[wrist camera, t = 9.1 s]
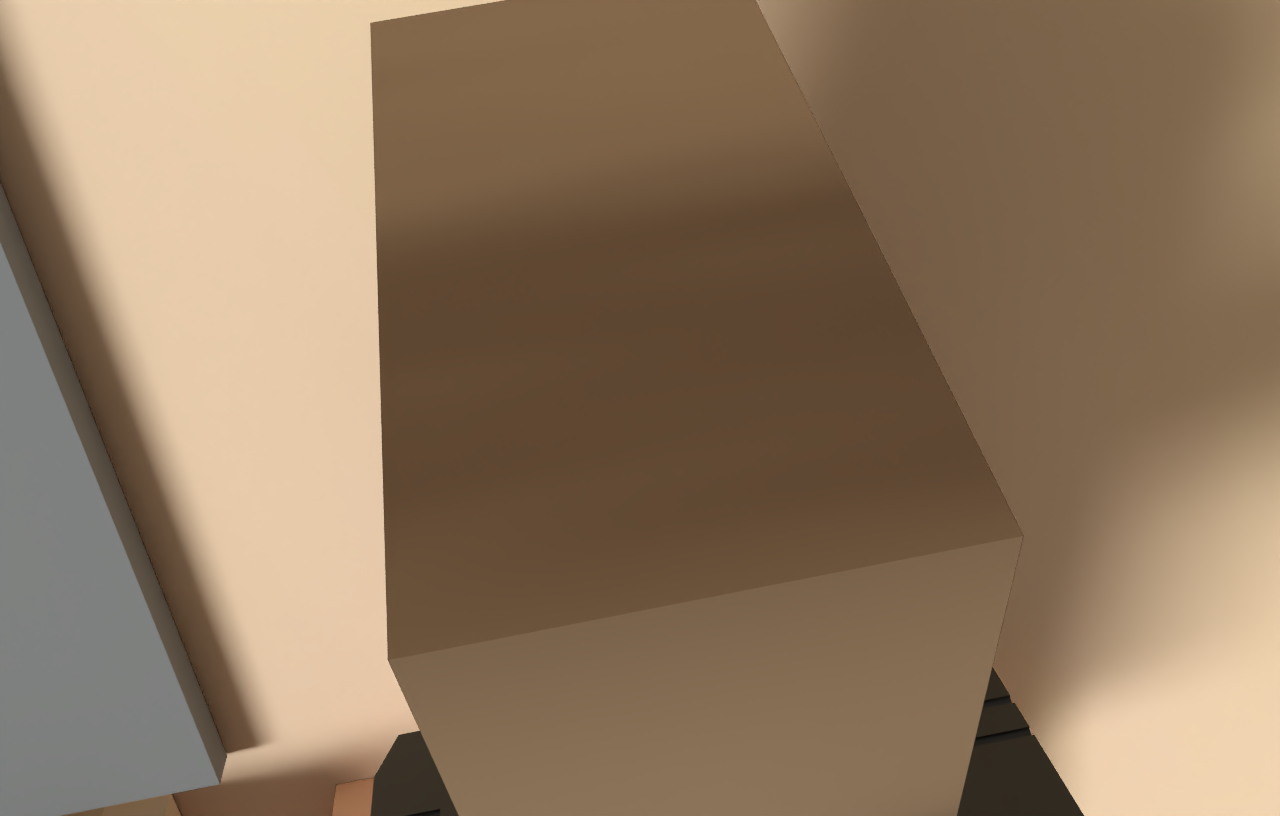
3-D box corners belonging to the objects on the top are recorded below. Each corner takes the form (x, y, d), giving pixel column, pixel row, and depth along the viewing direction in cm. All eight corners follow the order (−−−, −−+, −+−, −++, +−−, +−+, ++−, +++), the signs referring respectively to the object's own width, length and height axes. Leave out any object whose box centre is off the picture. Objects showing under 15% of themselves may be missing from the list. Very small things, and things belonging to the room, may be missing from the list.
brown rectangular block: (369, 22, 10) (387, 660, 5) (735, -39, 10) (1021, 535, 6) (568, 742, 18) (633, 1198, 14) (759, 704, 18) (878, 1143, 14)
